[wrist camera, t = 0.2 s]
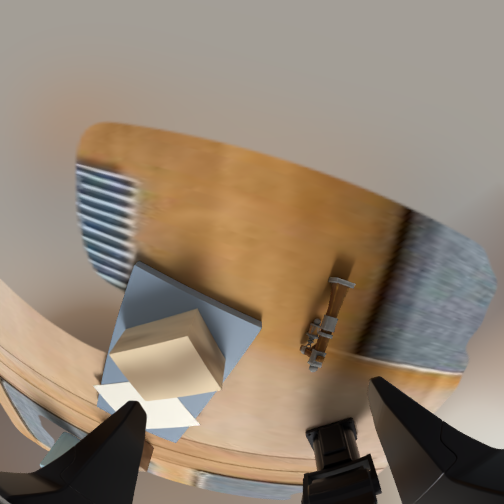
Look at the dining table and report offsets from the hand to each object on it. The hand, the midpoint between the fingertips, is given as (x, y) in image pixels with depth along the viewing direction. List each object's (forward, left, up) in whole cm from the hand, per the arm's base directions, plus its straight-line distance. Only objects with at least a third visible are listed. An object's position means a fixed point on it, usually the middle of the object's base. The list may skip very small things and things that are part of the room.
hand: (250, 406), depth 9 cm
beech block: (-5, +10, -13) cm, 17 cm away
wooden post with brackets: (-6, -4, -15) cm, 16 cm away
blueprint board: (-9, +14, -14) cm, 22 cm away
